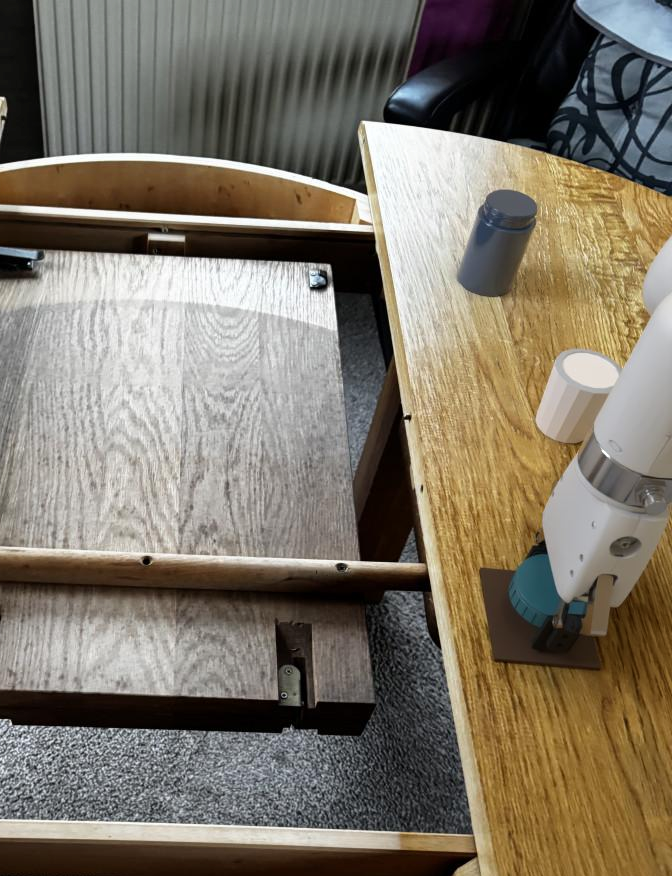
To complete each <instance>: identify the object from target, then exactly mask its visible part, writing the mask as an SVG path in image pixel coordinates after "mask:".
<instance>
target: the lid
mask: <svg viewBox="0 0 672 876" xmlns="http://www.w3.org/2000/svg"><path fill="white" fill-rule="evenodd" d="M524 560H525V559H524ZM524 560H523V561H522V562H520V565H518V566H517V568H516V570H515V571H516V572H515V573H514V575H513V577H512V579H511V581H510V583H509V584H510V586H509V590H508V592H509V596H510V600H511V603H512V605H513V606H514V609H515V610H516V611H517V612H518V613H519V614H520V615H521V616H522V617H523V618H524V619H525V620H527V621H528V622H529V623H531V624H533V625H535V626H537V627H541V626H542V624H543V622H544V621H545V619H546V618H547V616H549V615H554V612H555V609H556V606H557V602H558V599H559V596H560V595H559V594H558V592H557V589H556V585H555V581H554V577H553V573H552V569H551V564H550V560H549V555H548V554H539V555H535V556H532V557H530V558H528V559H526V560H525V561H524ZM584 606H585V602H573V601H571V604H570V607H569V610H568V613H571V614H580V615H582V612H583V609H584Z"/></svg>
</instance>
